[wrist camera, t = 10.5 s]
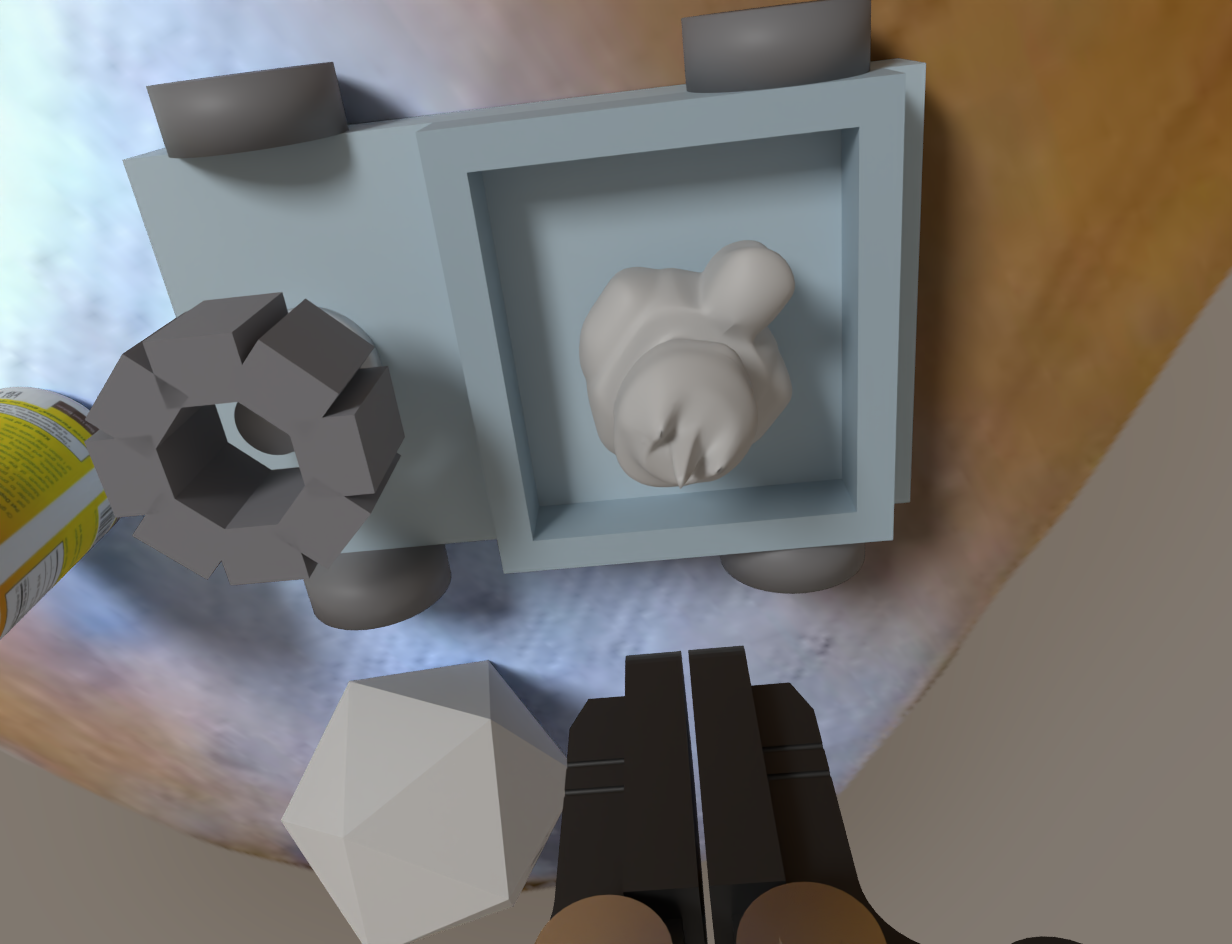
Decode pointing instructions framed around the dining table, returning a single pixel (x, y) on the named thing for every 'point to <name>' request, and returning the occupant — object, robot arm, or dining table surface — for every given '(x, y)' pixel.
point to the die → (427, 801)
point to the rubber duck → (688, 364)
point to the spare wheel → (226, 476)
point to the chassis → (573, 292)
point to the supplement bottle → (44, 496)
